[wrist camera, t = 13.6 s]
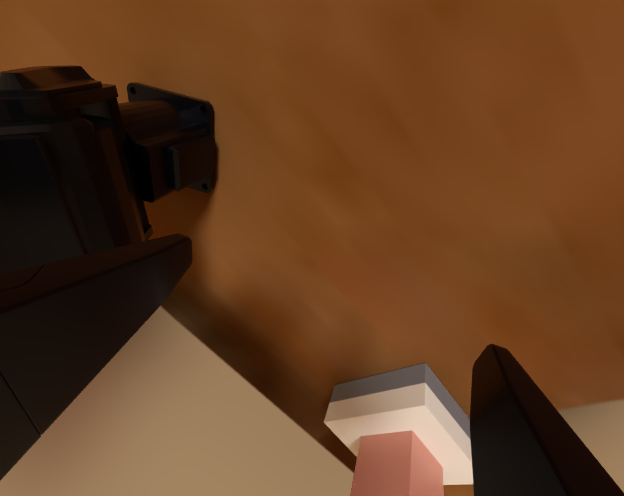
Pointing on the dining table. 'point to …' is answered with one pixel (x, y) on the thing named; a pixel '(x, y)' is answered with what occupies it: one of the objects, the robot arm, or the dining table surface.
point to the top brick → (396, 467)
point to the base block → (405, 416)
